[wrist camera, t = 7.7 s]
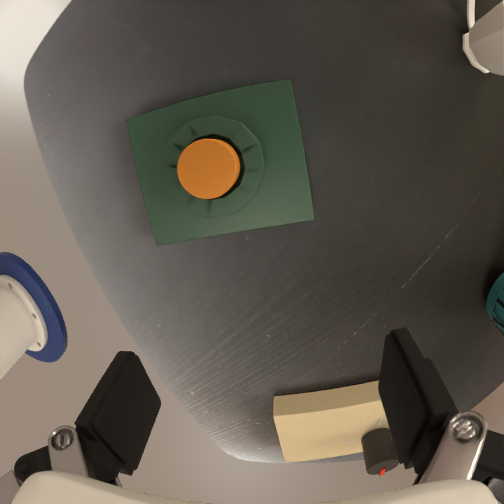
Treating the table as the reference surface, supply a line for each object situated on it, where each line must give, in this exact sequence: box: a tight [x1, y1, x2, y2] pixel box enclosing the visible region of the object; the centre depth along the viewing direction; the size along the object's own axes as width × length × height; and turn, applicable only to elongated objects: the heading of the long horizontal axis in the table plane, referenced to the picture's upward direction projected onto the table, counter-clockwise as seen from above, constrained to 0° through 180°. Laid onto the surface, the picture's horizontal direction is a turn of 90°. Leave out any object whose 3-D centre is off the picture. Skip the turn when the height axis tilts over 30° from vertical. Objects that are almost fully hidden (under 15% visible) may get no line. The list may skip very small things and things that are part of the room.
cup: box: [463, 0, 504, 76], centre depth 11 cm, size 7×10×8 cm
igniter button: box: [177, 139, 240, 199], centre depth 17 cm, size 4×4×2 cm
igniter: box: [126, 79, 314, 246], centre depth 20 cm, size 12×10×4 cm
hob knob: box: [361, 428, 399, 476], centre depth 26 cm, size 4×4×5 cm
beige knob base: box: [273, 380, 390, 462], centre depth 30 cm, size 16×12×3 cm
